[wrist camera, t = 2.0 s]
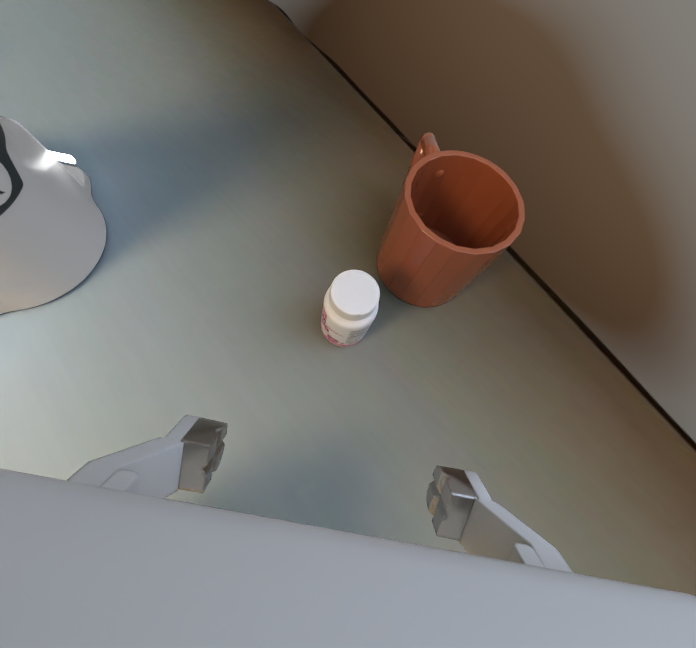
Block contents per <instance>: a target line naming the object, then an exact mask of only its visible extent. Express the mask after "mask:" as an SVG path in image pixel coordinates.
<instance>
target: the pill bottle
mask: <svg viewBox="0 0 696 648" xmlns="http://www.w3.org/2000/svg"><path fill="white" fill-rule="evenodd" d="M379 298H380V290H379V286H378V284H377V282H376V281H375V279H374V278H373V277H372V276H370V275H369V274H368V273H366V272H364V271H360V270H347V271H344V272H342V273H340V274H339V275H338V276H337V277H336V278H335V279H334V281H333V282H332V285H331V286H330V287H329V289H328V290H327V292H326V294H325V297H324V303H323V311H322V318H321V329H322V332H323V334H324V336H325V337H326V338H327V339H328V340H329V341H330V342H331V343H333V344H335V345H337V346H342V347H346V346H352V345H354V344H356V343H358V342H359V341H360V340H361V339H362V338H363V337H364V336H365V334H366V332H367V331H368V329H369V327H370V326H371V324H372V322H373V321H374V319H375V317H376V315H377V312H378V302H379Z"/></svg>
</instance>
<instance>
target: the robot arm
mask: <svg viewBox="0 0 696 648" xmlns="http://www.w3.org/2000/svg"><path fill="white" fill-rule="evenodd" d="M59 161H63V162H68V163H72V164H75V163H76V161H75V159H74V158H73V157H72V156H71V155H67V154H62V153H57V152H53V151H48V150H47V149H46V148H45V147H44V146H43V145H42V144H41V143H40V142H39V141H38V140H37V139H36V138H35V137H34V136H33V135H32V134H31V133H30V132H29V131H28V130H27V129H26V128H25V127H24V126H22V125H21V124H20V123H19V122H17V121H15V120H14V119H7V118H4V117H1V116H0V314H3V313H6V312H11V311H17V310H22V309H28V308H32V307H35V306H39V305H42V304H45V303H47V302H50V301H52V300H54V299H56V298H58V297H60V296H62V295H64V294H65V293H67V292H69V291H70V290H72V289H73V288H74V287H76V286H77V285H78V284H79V283H81V282H82V281H83V280H84V279H85V278H86V277H87V276H88V275H89V274H90V272H91V271H92V270H93V269H94V267H95V266H96V264H97V263H98V261H99V259H100V257H101V255H102V253H103V250H104V247H105V243H106V224H105V220H104V217H103V215H102V213H101V211H100V210H99V208H98V207H97V205H96V204H95V202H94V201H93V199H92V196H91V182H90V179H89V177H88V175H87V174H86V173H85V172H84V171H83V170H81V169H80V168H78V167H75V166H70V165H64V164H61V163H60V162H59ZM226 433H227V423H223V422H219V421H214V420H210V419H205V418H200V417H196V416H191V415H185V416H184V417H183V418H182V419H181V420H180V421H179V423H178V424H177V425H176V426H175V427H174V428H173V429H172V430H171V431H170V432H169V433H168V434H167V435H166V437H165V438H157V439H154V440H151V441H148V442H145V443H142V444H139V445H136V446H133V447H130V448H127V449H125V450H122V451H119V452H116V453H113V454H110V455H107V456H104V457H101V458H98V459H95V460H92V461H89V462H88V463H86V464H85V465H84V466H83V467H82V468H81V469H79V470H78V471H77V472H76V473H75V474H73V475H72V476H71V477H70V478H69V479H68V480H66V481H65V480H60V479H54V478H49V477H43V476H38V475H32V474H27V473H21V472H16V471H10V470H5V469H0V648H696V596H693V595H690V594H686V593H681V592H676V591H670V590H664V589H659V588H653V587H647V586H642V585H636V584H631V583H625V582H620V581H614V580H609V579H603V578H598V577H592V576H587V575H581V574H576V573H573V572H572V570H571V569H570V567H569V566H568V565H567V563H566V562H565V560H564V559H563V557H562V556H561V554H560V553H559V552H558V550H557V549H556V548H554V547H553V546H552V545H551V544H549V543H548V542H547V541H546V540H544V539H543V538H542V537H540V536H539V535H538V534H537V533H535V532H534V531H533V530H531V529H530V528H529V527H528V526H526V525H525V524H524V523H522V522H521V521H520V520H519V519H517V518H516V517H515V516H513V515H512V514H511V513H510V512H508V511H507V510H506V509H504V508H503V507H502V506H501V505H499V504H498V503H496V502H493V501H492V499H491V497H490V496H489V494H488V492H487V490H486V489H485V487H484V485H483V484H482V482H481V480H480V478H479V477H478V475H477V474H476V473H475V472H473V471H467V470H460V469H454V468H448V467H443V466H436V467H435V469H434V472H433V477H434V481H433V482H432V483H430V484H429V487H428V490H427V498H426V501H427V507H428V510H429V512H430V513H431V514H432V515H433V518H432V523H433V526H434V529H435V532H436V535H437V536H439V537H444V538H448V539H453V540H458V541H459V542H460V544H461V545H462V546H463V547H464V548H465V550H466V551H467V552H468V553H469V554H466V553H461V552H455V551H450V550H444V549H439V548H433V547H428V546H422V545H417V544H411V543H406V542H400V541H395V540H389V539H384V538H378V537H373V536H367V535H362V534H356V533H351V532H345V531H340V530H334V529H329V528H323V527H318V526H312V525H307V524H301V523H296V522H290V521H285V520H279V519H274V518H268V517H263V516H257V515H252V514H246V513H241V512H235V511H230V510H224V509H219V508H213V507H208V506H203V505H197V504H192V503H186V502H181V501H175V500H170V499H165V498H166V497H168V496H169V495H171V494H173V493H174V492H176V491H177V490H178V489H181V490H188V491H194V492H201V493H203V492H204V491H205V489H206V487H207V485H208V484H209V482H210V480H211V476H212V472H214V471H216V469H217V468H218V466H219V463H220V461H221V458H222V455H223V451H224V446H225V444H224V442H223V439H224V437H225V435H226Z"/></svg>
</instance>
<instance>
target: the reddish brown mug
mask: <svg viewBox="0 0 696 648" xmlns="http://www.w3.org/2000/svg"><path fill="white" fill-rule="evenodd" d="M524 220H525V211H524V202H523V199H522V197H521V195H520V193H519V190H518V188H517V187H516V185H515V184H514V183H513V181H512V180H511V179H510V178H509V176H508V175H507V174H506V173H505V172H504V171H503V170H501V169H500V168H499V167H497V166H496V165H495V164H493V163H492V162H490V161H489V160H486V159H484V158H482V157H480V156H477V155H475V154H472V153H467V152H462V151H456V150H454V151H440V149H439V146H438V143H437V140H436V138H435V136H434V135H433V134H432V133H426V134H424V135H423V136H422V137H421V139H420V142H419V144H418V147H417V149H416V152H415V154H414V157H413V160H412V162H411V165H410V167H409V170H408V173H407V175H406V178H405V180H404V183H403V187H402V190H401V193H400V195H399V198H398V200H397V203H396V205H395V208H394V210H393V213H392V216H391V218H390V221H389V223H388V226H387V228H386V231H385V233H384V236H383V239H382V241H381V244H380V246H379V250H378V254H377V267H378V271H379V274H380V277H381V279H382V281H383V283H384V284H385V286H386V287H387V288H388V289H389V290H390V291H391V292H392V293H393V294H394V295H395V296H396V297H398V298H399V299H401V300H403V301H405V302H407V303H409V304H412V305H416V306H421V307H434V306H439V305H442V304H444V303H447V302H448V301H450V300H451V299H453V298H454V297H456V296H457V295H458V294H459V293H460V292H461V291H462V290H463V289H464V288H465V287H466V286H467V285H468V284H469V283H471V282H472V281H473V280H474V279H475V278H476V277H477V276H478V275H479V274H480V273H481V272H482V271H483V270H484V269H485V268H486V267H487V266H489V265H490V264H491V263H492V262H493V261H494V260H495V259H496V258H497V257H498V256H499V255H500V254H501V253H502V252H503V251H504V250H505V249H506V248H508V247H509V246H510V245H511V244H512V242H513V241H514V240H515V239H516V238H517V237H518V235H519V234H520V233H521V230H522V227H523V223H524Z"/></svg>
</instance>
